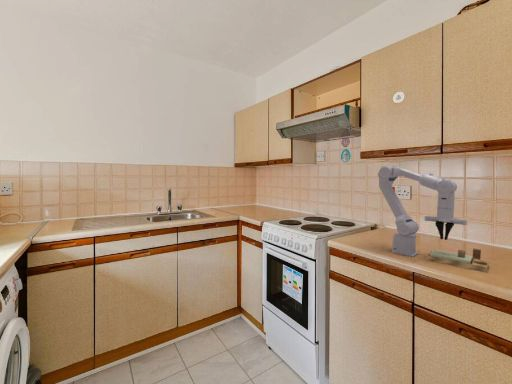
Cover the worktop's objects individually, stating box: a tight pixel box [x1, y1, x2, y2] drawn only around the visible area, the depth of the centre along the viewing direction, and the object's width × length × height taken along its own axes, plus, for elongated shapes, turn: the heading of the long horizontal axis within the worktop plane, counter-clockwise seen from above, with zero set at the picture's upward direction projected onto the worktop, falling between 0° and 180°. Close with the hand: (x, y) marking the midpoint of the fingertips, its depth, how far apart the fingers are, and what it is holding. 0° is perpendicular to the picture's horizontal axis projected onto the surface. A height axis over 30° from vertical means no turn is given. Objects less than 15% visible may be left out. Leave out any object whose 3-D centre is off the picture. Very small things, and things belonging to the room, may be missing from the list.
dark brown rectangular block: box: [472, 247, 482, 260], centre depth 108 cm, size 2×2×6 cm
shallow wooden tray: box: [425, 250, 490, 273], centre depth 106 cm, size 20×10×2 cm, turn 44°
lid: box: [429, 248, 473, 264], centre depth 107 cm, size 13×9×4 cm
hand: (443, 239), depth 109 cm, fingers closed
